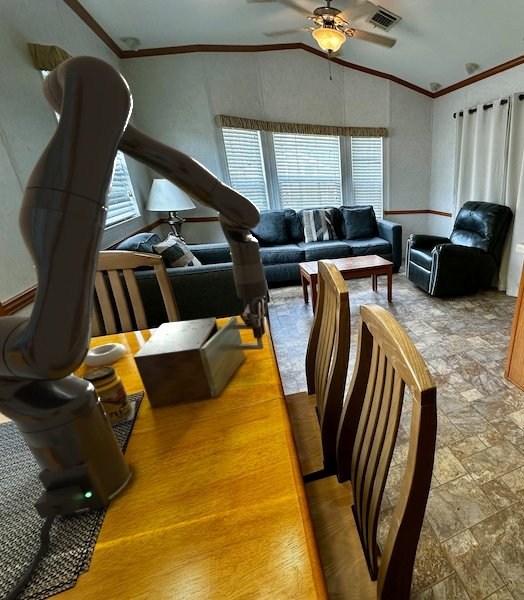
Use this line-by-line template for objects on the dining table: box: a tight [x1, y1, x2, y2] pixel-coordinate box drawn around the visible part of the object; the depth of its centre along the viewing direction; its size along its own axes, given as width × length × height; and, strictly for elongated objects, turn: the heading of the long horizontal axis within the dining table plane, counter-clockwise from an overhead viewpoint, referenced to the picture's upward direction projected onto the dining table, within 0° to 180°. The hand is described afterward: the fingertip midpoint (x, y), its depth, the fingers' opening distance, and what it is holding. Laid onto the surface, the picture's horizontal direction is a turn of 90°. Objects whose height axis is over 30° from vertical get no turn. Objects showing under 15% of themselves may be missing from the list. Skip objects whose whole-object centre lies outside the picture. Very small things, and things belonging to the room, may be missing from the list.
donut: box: [83, 342, 127, 367], centre depth 97 cm, size 10×4×10 cm
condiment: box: [82, 365, 137, 427], centre depth 72 cm, size 7×8×12 cm
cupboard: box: [133, 317, 219, 409], centre depth 85 cm, size 13×18×14 cm
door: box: [201, 315, 264, 398], centre depth 87 cm, size 8×18×14 cm, turn 3°
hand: (259, 335), depth 93 cm, fingers closed
